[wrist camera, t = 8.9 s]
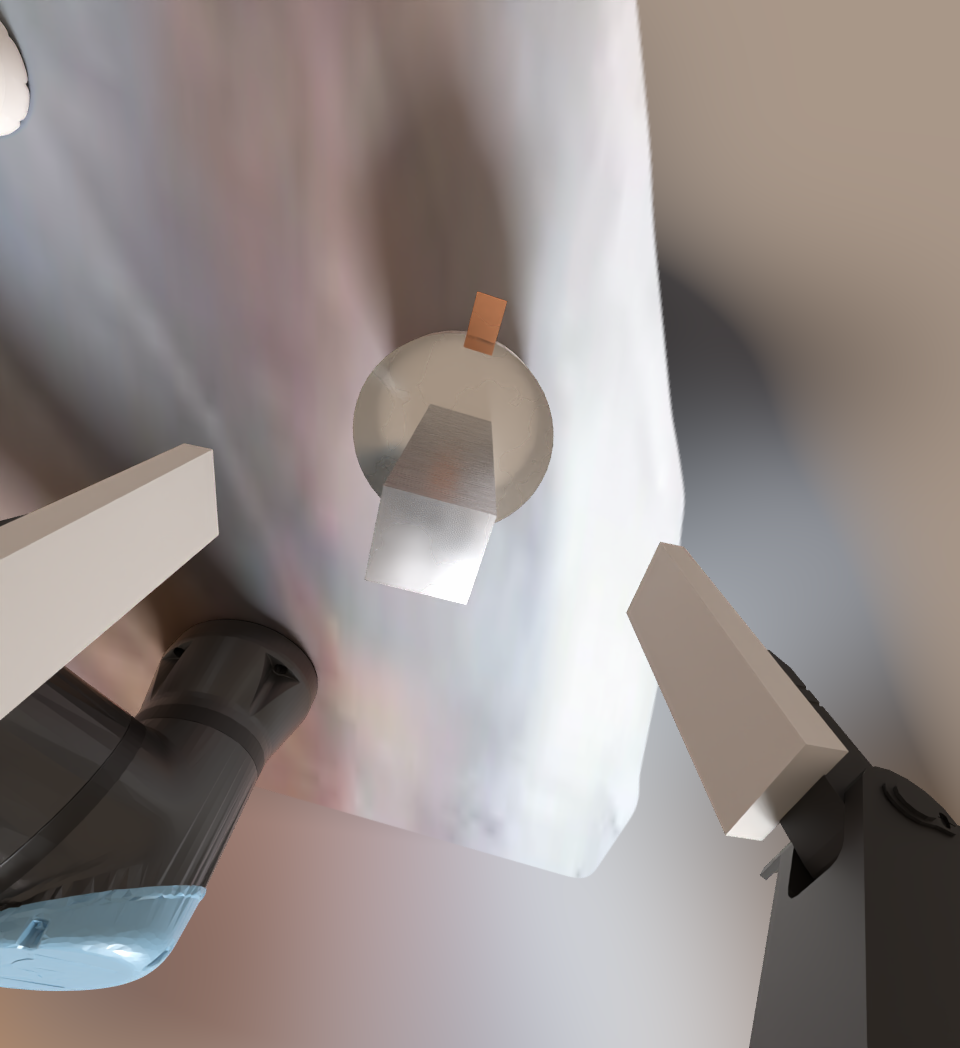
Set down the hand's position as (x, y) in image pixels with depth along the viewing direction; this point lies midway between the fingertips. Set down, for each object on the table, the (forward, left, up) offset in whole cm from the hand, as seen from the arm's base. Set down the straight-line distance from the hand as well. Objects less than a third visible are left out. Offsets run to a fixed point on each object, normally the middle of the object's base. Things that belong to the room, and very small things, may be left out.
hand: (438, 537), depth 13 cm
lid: (0, +1, -14) cm, 14 cm away
